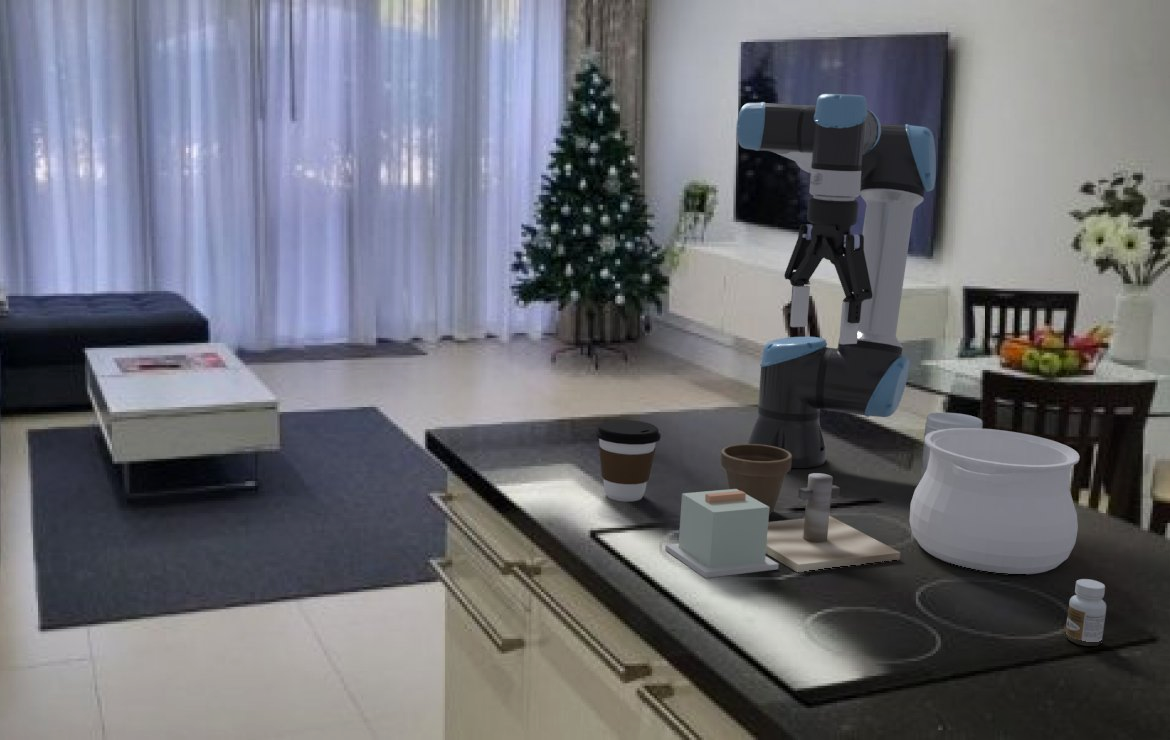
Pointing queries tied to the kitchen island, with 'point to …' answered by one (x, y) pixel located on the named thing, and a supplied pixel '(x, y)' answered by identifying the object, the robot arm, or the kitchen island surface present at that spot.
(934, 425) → the supplement tub
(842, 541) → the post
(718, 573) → the pad
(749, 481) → the flower pot
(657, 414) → the kitchen island surface
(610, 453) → the coffee cup
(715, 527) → the cube with orange handle
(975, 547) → the pot
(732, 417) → the kitchen island surface
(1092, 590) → the pill bottle
